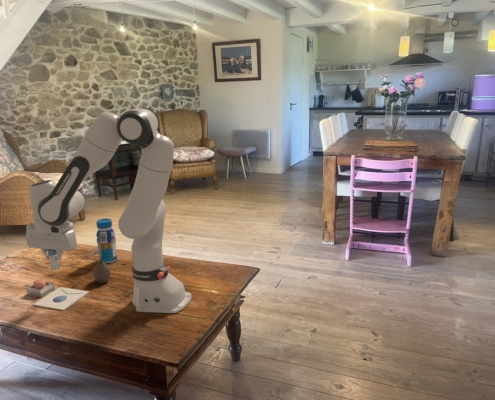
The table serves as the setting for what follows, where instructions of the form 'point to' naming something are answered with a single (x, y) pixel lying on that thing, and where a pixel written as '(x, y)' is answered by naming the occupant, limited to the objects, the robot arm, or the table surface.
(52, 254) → the dome-topped peg
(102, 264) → the vase
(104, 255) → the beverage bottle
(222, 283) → the table surface
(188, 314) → the table surface
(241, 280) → the table surface
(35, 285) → the button
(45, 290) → the button housing
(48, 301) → the drawing pad
